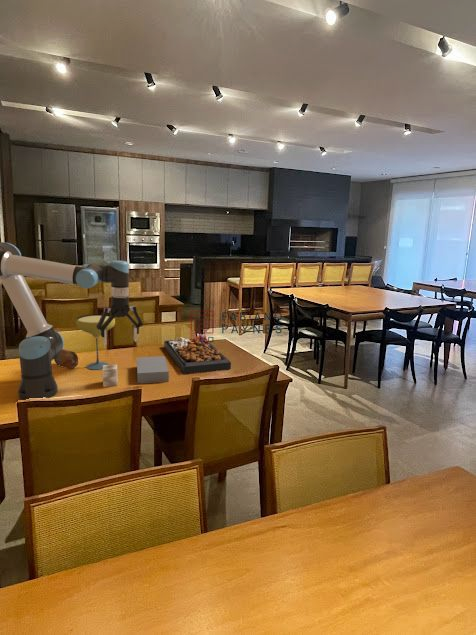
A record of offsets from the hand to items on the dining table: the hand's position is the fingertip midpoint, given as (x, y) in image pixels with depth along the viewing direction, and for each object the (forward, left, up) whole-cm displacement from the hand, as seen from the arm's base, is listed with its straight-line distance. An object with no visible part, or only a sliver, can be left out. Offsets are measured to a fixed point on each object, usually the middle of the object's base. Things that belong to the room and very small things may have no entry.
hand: (120, 342), depth 188 cm
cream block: (-5, -2, -19) cm, 19 cm away
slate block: (+14, +7, -19) cm, 24 cm away
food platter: (+38, +28, -20) cm, 51 cm away
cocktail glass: (-12, +22, -19) cm, 31 cm away
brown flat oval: (-27, +24, -19) cm, 40 cm away
